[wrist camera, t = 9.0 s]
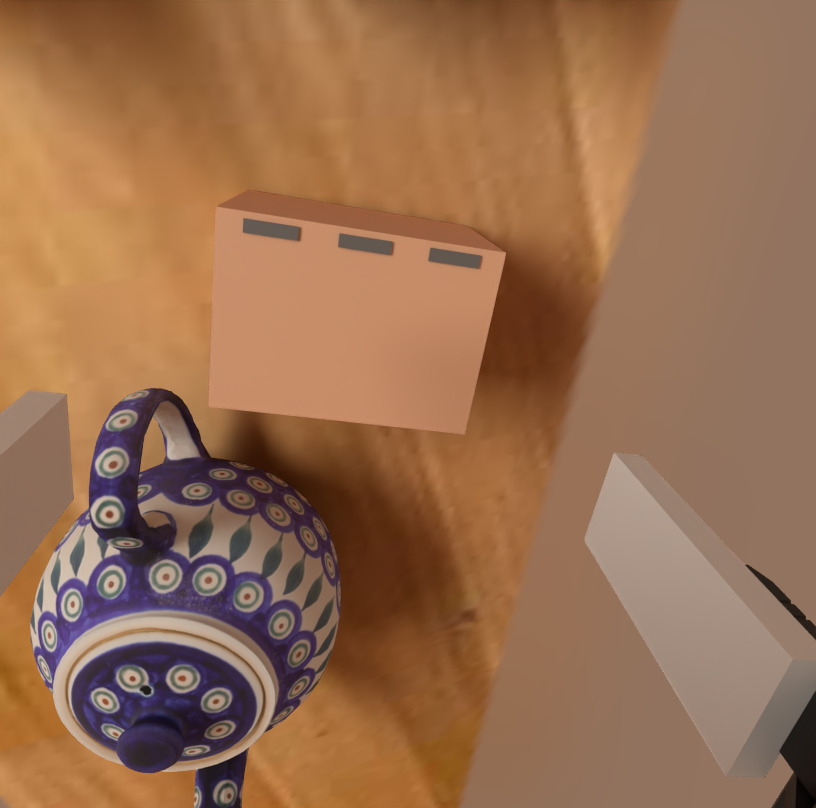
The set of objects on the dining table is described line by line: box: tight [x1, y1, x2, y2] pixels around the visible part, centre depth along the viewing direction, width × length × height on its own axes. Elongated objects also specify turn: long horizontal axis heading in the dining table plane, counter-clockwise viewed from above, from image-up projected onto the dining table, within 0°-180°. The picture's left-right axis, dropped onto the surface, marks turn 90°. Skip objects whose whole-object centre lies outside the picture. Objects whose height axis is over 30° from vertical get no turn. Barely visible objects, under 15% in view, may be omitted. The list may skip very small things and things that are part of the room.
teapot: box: [31, 388, 341, 808], centre depth 30 cm, size 25×15×15 cm, turn 0°
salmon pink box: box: [208, 190, 506, 434], centre depth 27 cm, size 8×11×8 cm
